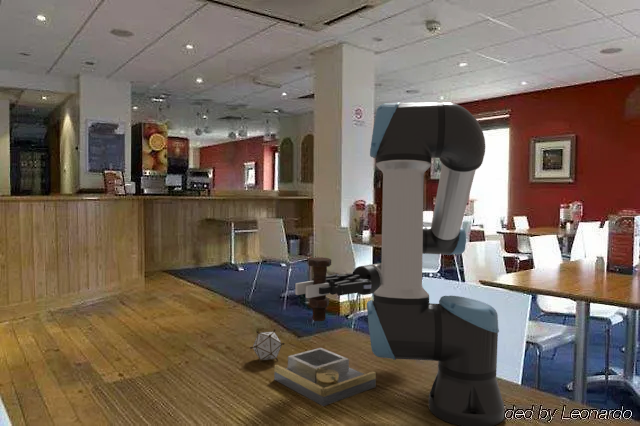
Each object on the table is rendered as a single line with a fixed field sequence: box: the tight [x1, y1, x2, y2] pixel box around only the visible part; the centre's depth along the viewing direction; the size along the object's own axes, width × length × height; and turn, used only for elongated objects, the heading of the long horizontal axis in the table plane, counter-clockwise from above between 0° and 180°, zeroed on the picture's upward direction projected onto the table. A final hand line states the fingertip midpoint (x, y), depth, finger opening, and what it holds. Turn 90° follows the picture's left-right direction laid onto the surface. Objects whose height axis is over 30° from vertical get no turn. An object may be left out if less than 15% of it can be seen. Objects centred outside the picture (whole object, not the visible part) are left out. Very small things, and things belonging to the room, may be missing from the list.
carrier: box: [273, 347, 377, 407], centre depth 114 cm, size 18×16×5 cm
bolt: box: [307, 256, 332, 322], centre depth 117 cm, size 6×5×15 cm
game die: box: [249, 328, 286, 364], centre depth 129 cm, size 9×8×10 cm
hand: (301, 290), depth 113 cm, fingers closed on bolt, 3 cm apart
